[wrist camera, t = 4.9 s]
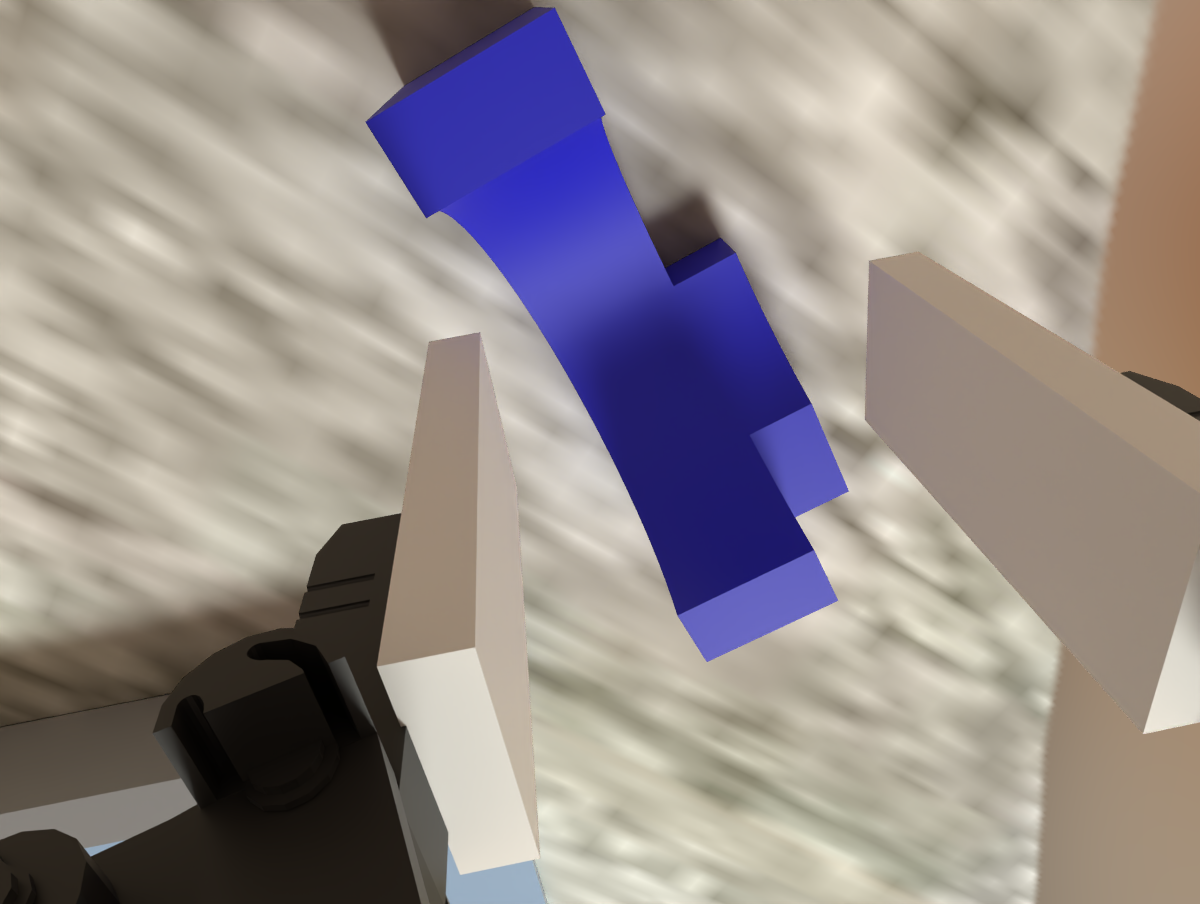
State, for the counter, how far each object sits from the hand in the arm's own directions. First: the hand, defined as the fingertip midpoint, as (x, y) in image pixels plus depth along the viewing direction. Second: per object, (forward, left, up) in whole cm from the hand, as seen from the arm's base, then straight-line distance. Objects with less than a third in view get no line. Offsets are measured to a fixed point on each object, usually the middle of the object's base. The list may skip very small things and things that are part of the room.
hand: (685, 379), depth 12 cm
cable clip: (+1, 0, -7) cm, 7 cm away
